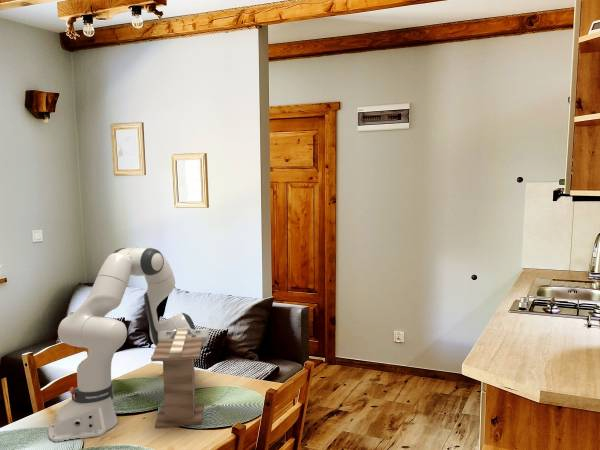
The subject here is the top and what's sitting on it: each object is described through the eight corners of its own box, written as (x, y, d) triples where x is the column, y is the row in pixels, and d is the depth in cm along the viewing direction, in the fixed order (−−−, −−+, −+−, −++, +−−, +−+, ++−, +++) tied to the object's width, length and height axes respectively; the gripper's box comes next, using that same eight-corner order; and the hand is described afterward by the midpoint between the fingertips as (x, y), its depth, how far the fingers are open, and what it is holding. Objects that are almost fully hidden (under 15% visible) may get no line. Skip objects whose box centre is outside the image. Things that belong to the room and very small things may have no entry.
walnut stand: (162, 405, 198) (159, 339, 196) (204, 402, 200) (202, 337, 198) (153, 432, 176) (151, 358, 174) (201, 429, 178) (199, 355, 176)
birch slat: (178, 332, 204) (178, 328, 204) (188, 331, 205) (188, 327, 205) (169, 357, 175) (169, 352, 174) (181, 356, 175) (181, 352, 175)
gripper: (160, 333, 214) (155, 324, 201) (209, 330, 216) (208, 322, 204) (159, 348, 211) (154, 340, 198) (209, 345, 214) (208, 338, 201)
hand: (182, 331), depth 201 cm, fingers open, 5 cm apart
